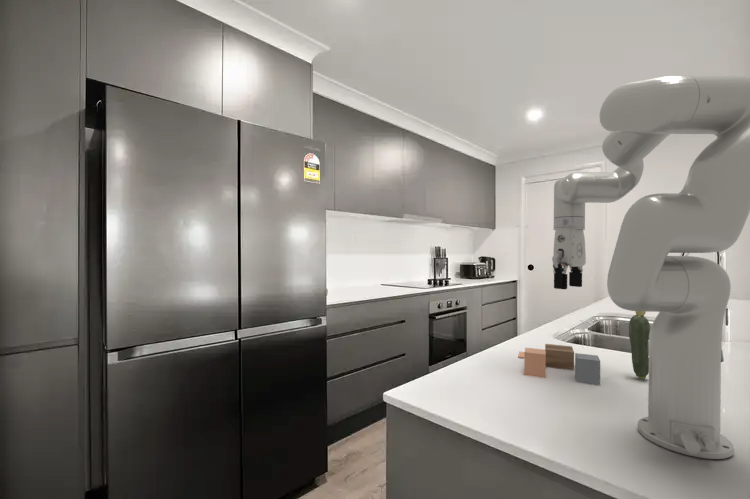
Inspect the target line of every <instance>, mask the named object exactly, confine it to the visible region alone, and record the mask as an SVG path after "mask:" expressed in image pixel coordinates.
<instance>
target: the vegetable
mask: <svg viewBox="0 0 750 499" xmlns="http://www.w3.org/2000/svg"><path fill="white" fill-rule="evenodd" d="M634 312H635V315H633V316H631V318H629V321H628V323H629V324H628V337H629V342H630V350H631V351H630V352H631V364H632V368H633V372H634V374H635V376H636V377H637V378H638V379H646V378H647V376H649V334H650V330H651V326H650V321H649V319H648V318H646V316H645V315H646V312H643V311H634Z"/></svg>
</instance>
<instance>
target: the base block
mask: <svg viewBox="0 0 750 499" xmlns="http://www.w3.org/2000/svg"><path fill="white" fill-rule="evenodd" d="M544 346H545V347H544V350H546V363H545V368H553V369H554V368H555V369H560V370H561V369H562V370H569V371H570V370H571V371H575V351H574V349H573V346H572V345H562V344H553V343H552V344H551V343H545V345H544Z"/></svg>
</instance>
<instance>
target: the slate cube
mask: <svg viewBox="0 0 750 499" xmlns="http://www.w3.org/2000/svg"><path fill="white" fill-rule="evenodd" d="M574 377H575V381H576V383H580V384H586V385H587V384H588V385H592V384H593V385H595V386H599V385H600V386H601V360H600V357H599V356H598V355H596V354H587V353H578V352H576V353H575V352H574Z"/></svg>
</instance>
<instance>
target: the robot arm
mask: <svg viewBox="0 0 750 499" xmlns="http://www.w3.org/2000/svg"><path fill="white" fill-rule="evenodd" d="M601 104H602V105H601V107H600V111H599V124H601V126H602V127H603V129H605V130H606V131H608V132H609V134H608V135H607V136H606V137H605V139H604V140H603V142H602V146H601V149H602V152H603V155H604V156H605V158H606V159H607V160H608V161H609V162H611V163H612V164H613V165H615V166H616V167H617V168H616V169H614V170H613V171H611V172H610V171H609V172H608V171H607V172H606V171H604V172H600V171H599V172H598V171H594V172H593V171H590V172H589V171H587V172H586V171H585V172H584V171H577V172H571V173H569V174H567V175H565V177H564V178H561V179H557V180H556V181H555V182H554V186H553V231H554V240H553V256H552V257H551V259H552V268H553V269H552V270H553V271H552V272H553V289H555V290H556V289H557V290H568V285H569V286H570V287H573V288H574V287H576V288H581V287H583V271H584V270H583V266H585V265H586V263H587V262H586V260H587V258H586V257H587V256H586V255H587V254H586V241H585V240H586V239H585V231H584V230H586V203H587V204H588V203H591V204H593V203H596V204H597V203H598V204H599V203H600V204H601V203H603V204H605V203H606V204H607V203H609V204H610V203H615V202H616V201H617V202H618V201H619V200H621V199H623V198H624V197H625V196H626V195H627V194H629V193H630V192H631V191H633V190H634V189H635V188H636V186H637V185H639V183H640V181H641V178H642V176H643V172H644V168H645V167H644V158H646V157H647V156H648V155H649V154H650V153H651V152H652V151H653V150H654V149H655V148H656V147H658V146H659V145H660V144H661V143H662V142H663V141H664V140H665V139H667V137H669V136H670V135H714V136H716V139H714V140H713V141H712V142H711V143H709V144H708V145H707V146H706V147H705V148H704V149H703V150H702V151H701V152H700V153H699V154H698V155H697V157H696V158H695V159H694V161H693V162H692V164H691V165H690V168H689V170H688V174H687V177H686V181H685V182H684V185H683V188H682V189H681V190H680V192H678V193H668V192H667V193H664V192H663V193H654V194H649V195H645V196H643V197H640V198H639V199H638V200H636V201H634V202H633V203H632V205H631V206H630V207H629V208H628V210H627V212H626V213H625V215H624V218H623V219H622V222H621V225H620V229H619V233H618V236H617V241H616V243H615V247H614V251H613V254H612V258H611V261H610V265H609V269H608V274H607V280H606V281H607V282H606V283H607V284H606V285H607V293H608V295H609V298H610V300H611V301H612V302H613V303H614V304H615V306H617V307H618V308H621V309H622V310H626V311H631V312H635V311H643V312H647V313H648V312H649V313H651V312H656V313H657V315H656V317H655V318H654V321H652V325H651V326H650V332H649V340H648V356H649V373H648V398H647V399H648V404H647V407H648V409H647V410H648V412H647V413H648V414H647V415H648V416H645V417H642V418H640V419H639V420H638V421H637V430H638V432H639V434H641V436H643V437H645V438H646V439H647V440H649V441H650V442H652V443H654V444H655V445H657V446H660V447H662V448H665V449H667V450H669V451H673V452H675V453H678V454H682V455H685V456H689V457H690V456H691V457H693V458H694V457H695V458H699V459H700V458H701V459H708V460H721V459H723V460H724V459H728V458H731V457H732V456H733V455H734V444H733V443H732V442H731V440H729V439H728V438H727V437H725V436H724V435H723V434H721V400H722V399H721V397H722V396H721V394H722V392H721V391H722V390H721V387H722V386H721V383H722V363H721V362H722V343H723V342H722V340H723V339H722V338H723V325H724V318H725V315H726V314H725V313H726V311H727V310H726V309H727V307H728V304H729V300H730V296H731V288H732V287H731V286H732V285H731V280H730V277H729V274H728V273H727V271H726V270H725V269H724V268H723V266H721V265H720V264H719V263H717V262H715V261H713V260H710V259H708V258H704V257H700V256H692V255H691V256H690V255H669V254H675V253H676V254H694V253H695V254H708V253H709V254H710V253H717V252H722V251H726V250H728V249H729V248H731V247H732V246H733V245H735V243H736V242H737V241H738V239H739V237H740V236H741V234H742V231H743V229H744V226H745V224H746V222H747V219H748V216H749V214H750V76H743V75H742V76H740V75H667V76H661V77H654V78H648V79H644V80H638V81H632V82H627V83H624V84H621V85H619V86H617V87H615V88H614V89H613V90H612V91H611V92H609V94H608V95H607V96H606V98H605V99H604V101H603V102H602V103H601ZM568 268H569V270H570V271H569V272H568V271H567V270H568ZM567 272H568V273H569V274H568V273H567ZM568 275H569V276H568ZM568 281H569V282H568Z"/></svg>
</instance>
